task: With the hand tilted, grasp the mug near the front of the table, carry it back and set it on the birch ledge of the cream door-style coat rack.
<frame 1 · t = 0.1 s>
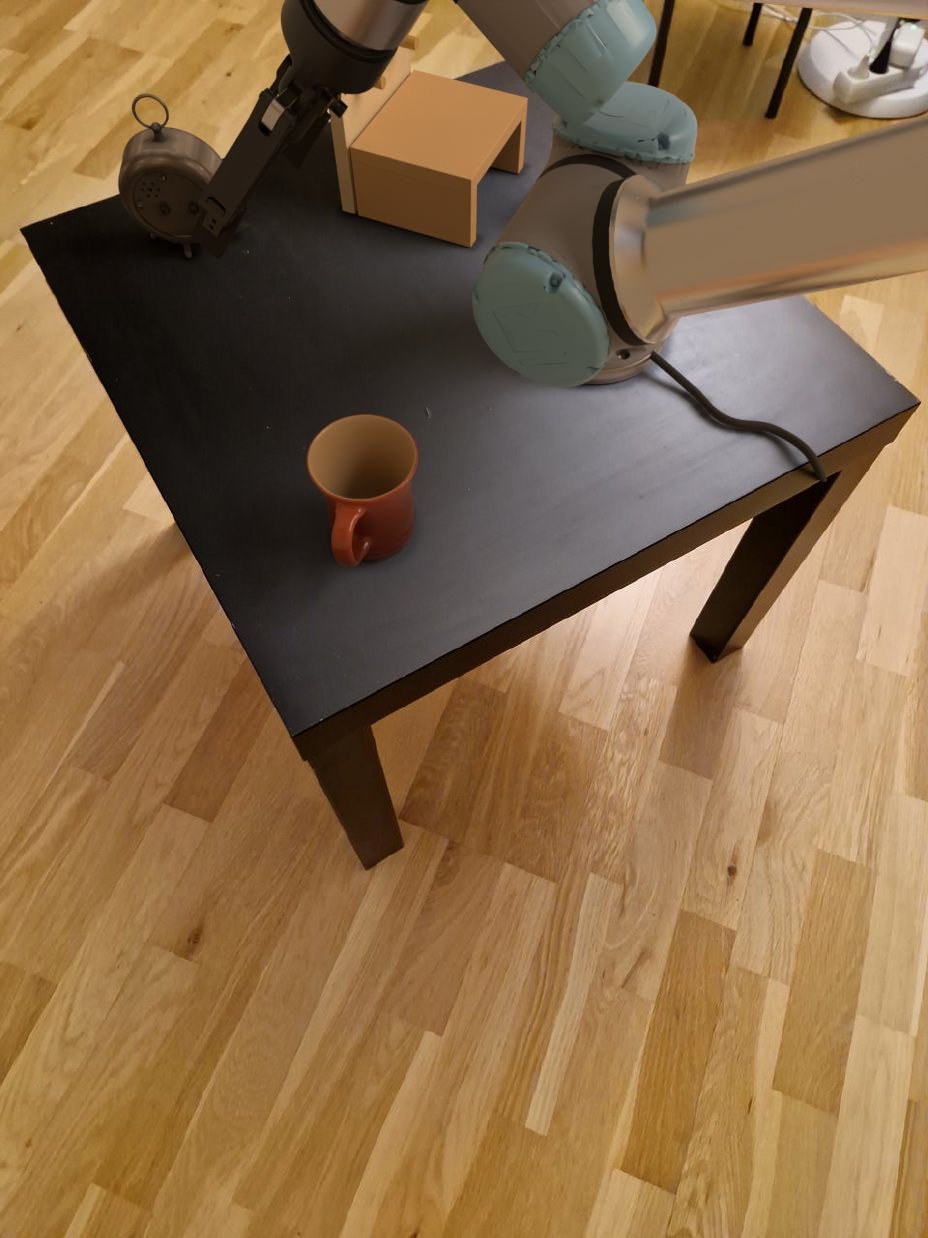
hand: (249, 199, 72), 15 cm above the table, tool tilted 35°, fingers open, 13 cm apart
mug: (370, 547, 73), on the table
alarm clock: (193, 246, 92), on the table
fossilized seashell: (586, 225, 94), on the table
door rack: (438, 189, 97), on the table
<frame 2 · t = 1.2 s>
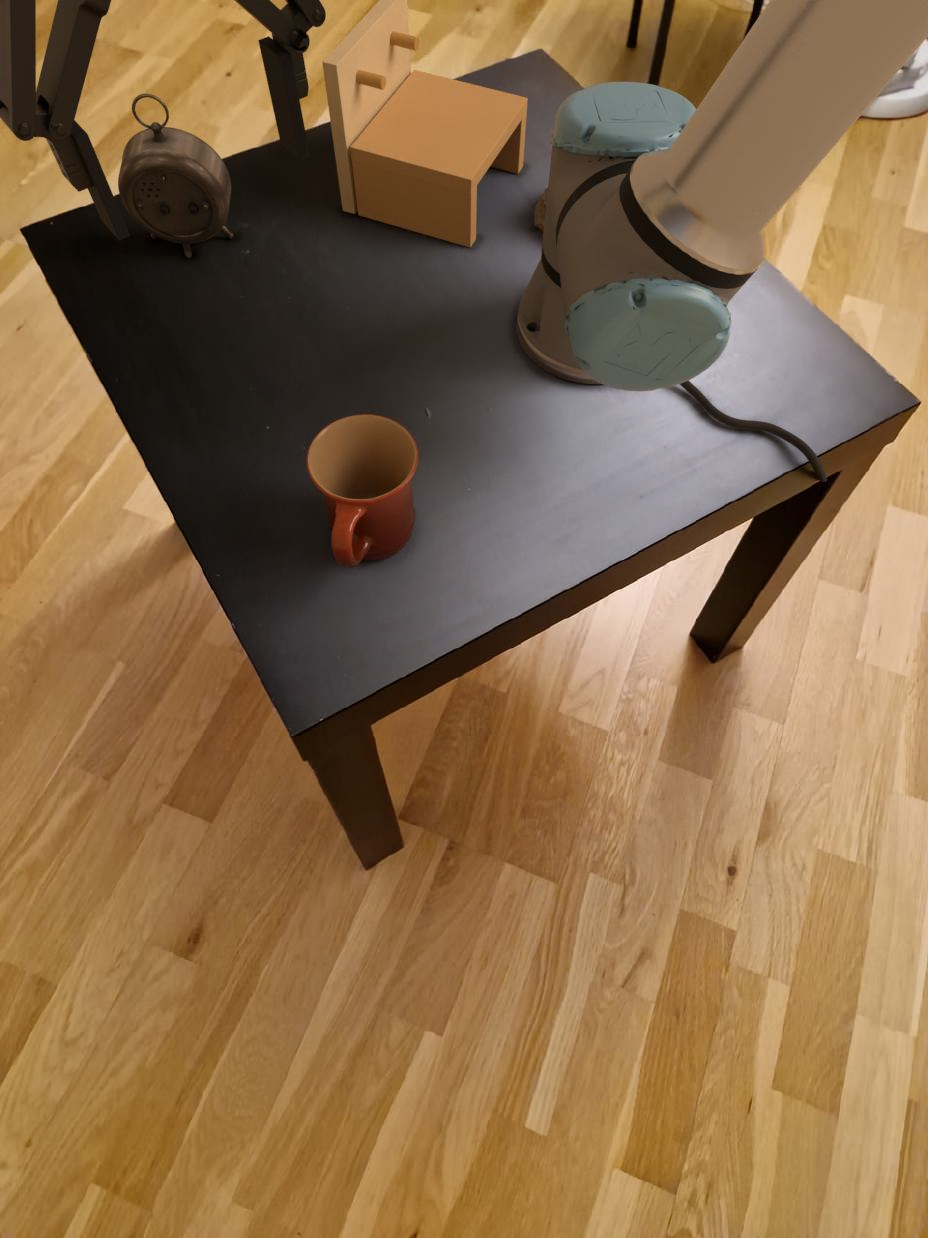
hand: (208, 187, 55), 26 cm above the table, tool pointing down, fingers open, 13 cm apart
nothing on the table moved.
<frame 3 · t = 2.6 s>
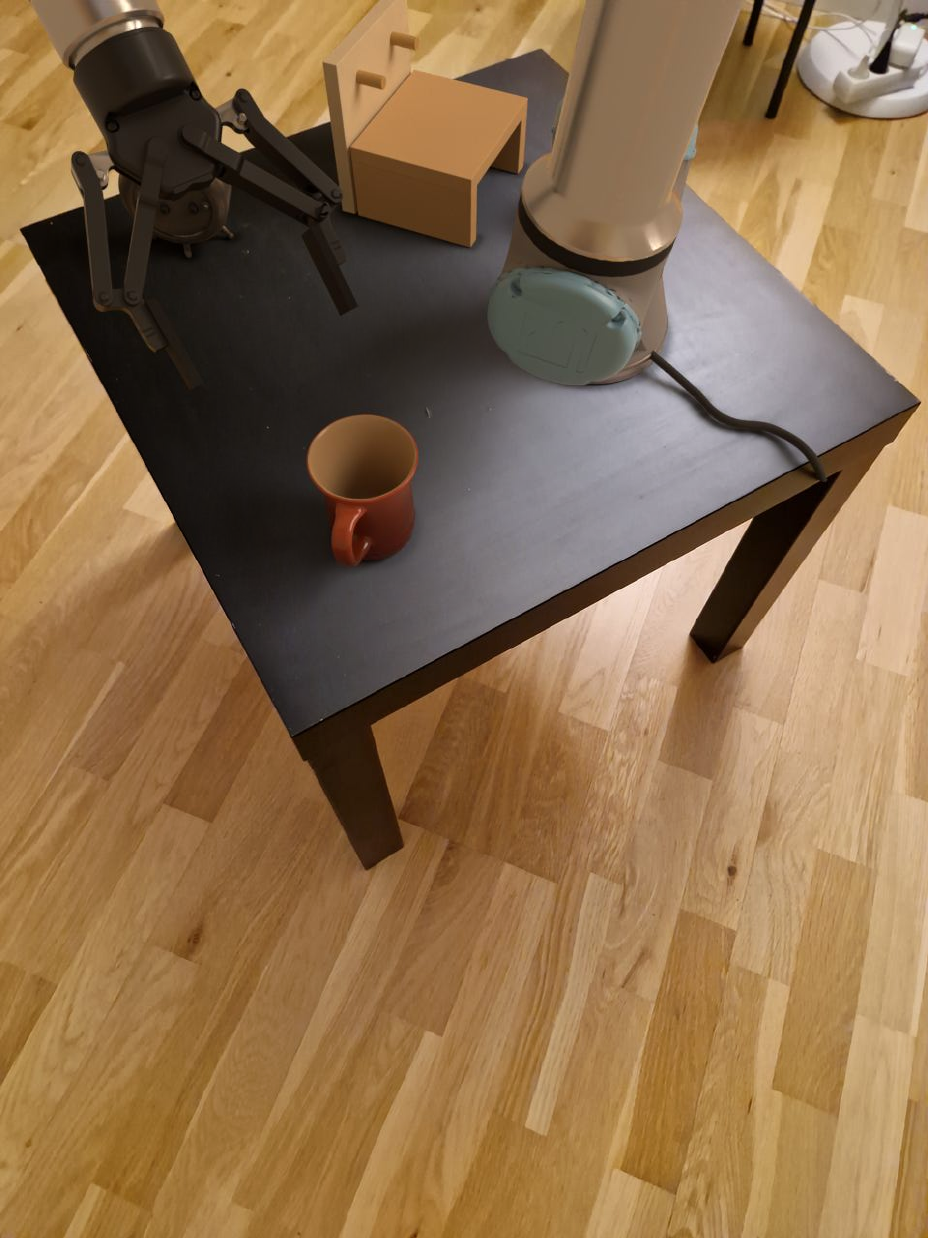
hand: (275, 348, 64), 15 cm above the table, tool tilted 45°, fingers open, 13 cm apart
nothing on the table moved.
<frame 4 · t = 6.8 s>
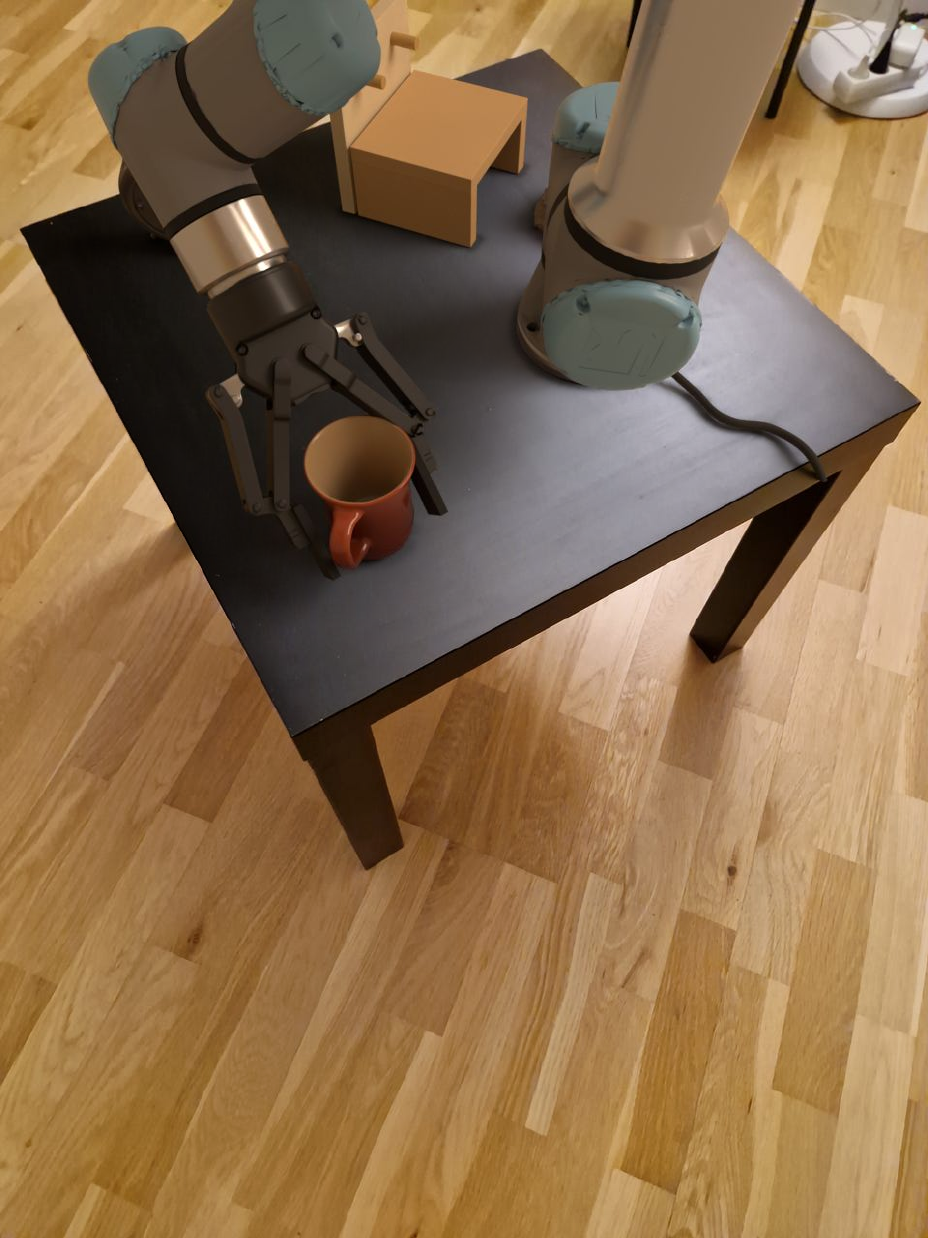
hand: (386, 544, 68), 4 cm above the table, tool tilted 45°, fingers closed on mug, 10 cm apart
mug: (369, 546, 73), on the table, touching gripper
everything else where it was.
when the fingers open (12 cm above the table, at t = 19.1 s): mug moves 1 cm, point 8 cm above the table.
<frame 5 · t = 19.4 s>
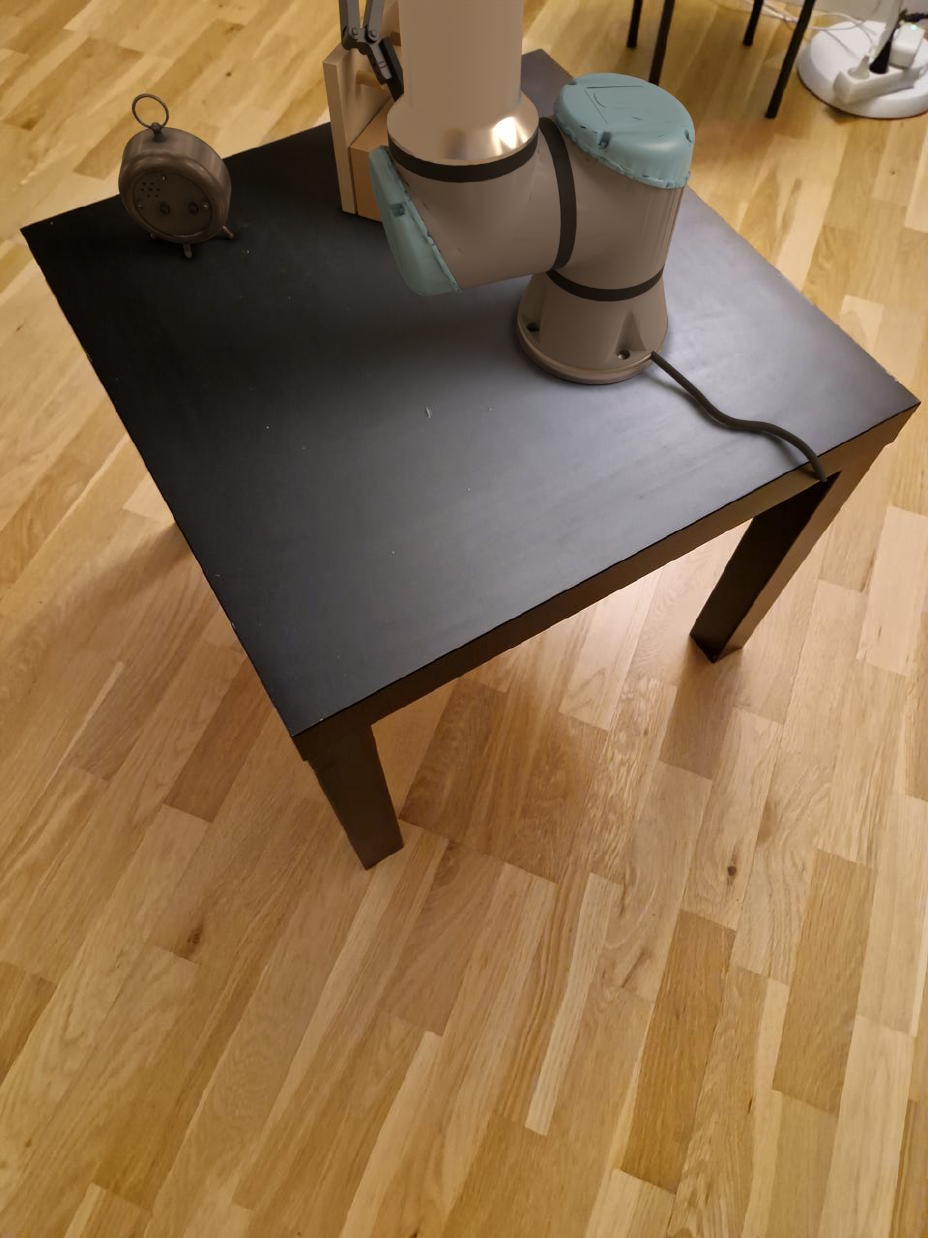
hand: (462, 92, 85), 12 cm above the table, tool tilted 45°, fingers open, 12 cm apart
mug: (456, 118, 90), point 8 cm above the table, touching gripper
everything else where it was.
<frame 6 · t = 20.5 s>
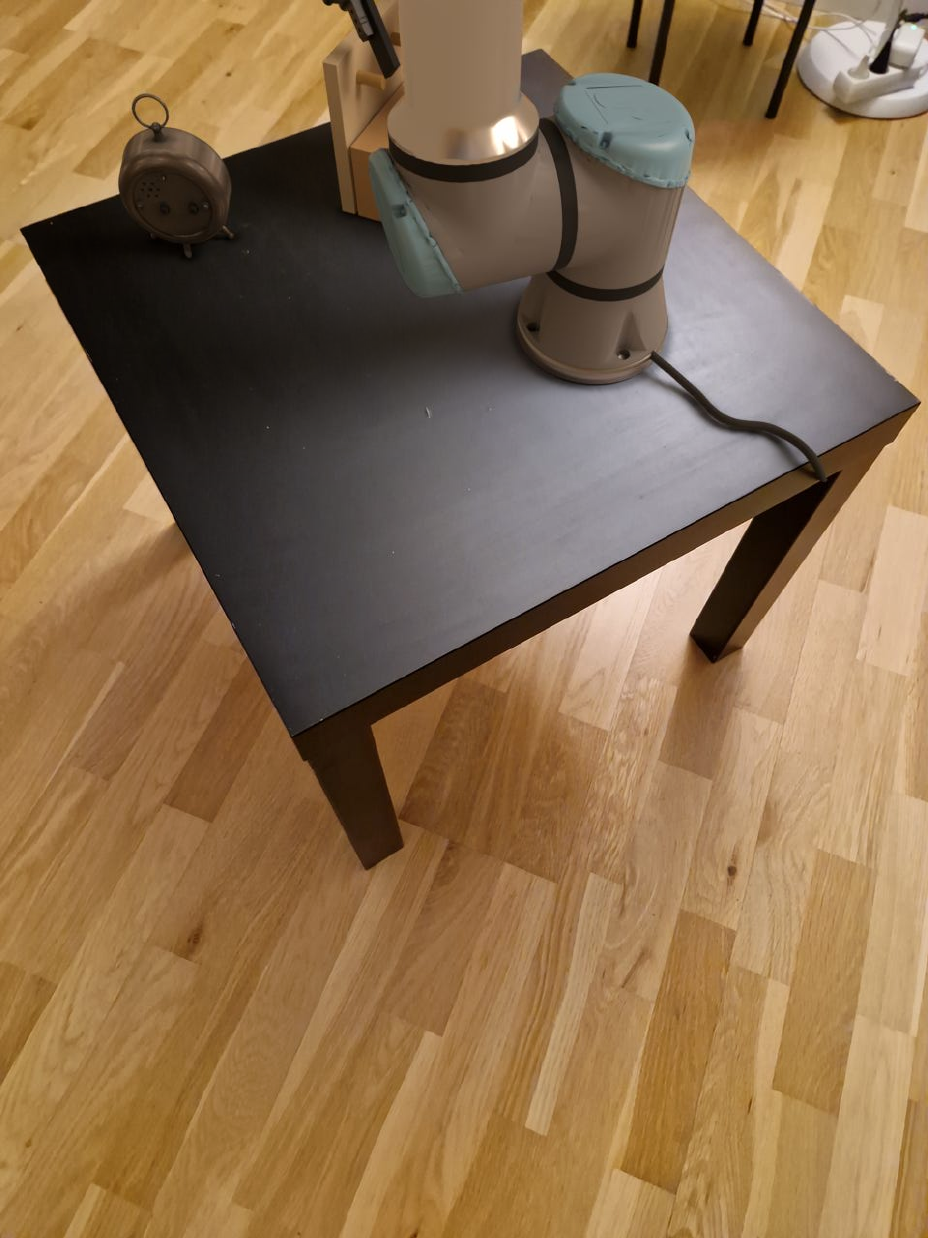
hand: (449, 50, 83), 16 cm above the table, tool tilted 45°, fingers open, 13 cm apart
mug: (465, 110, 90), point 8 cm above the table, touching door rack
everything else where it was.
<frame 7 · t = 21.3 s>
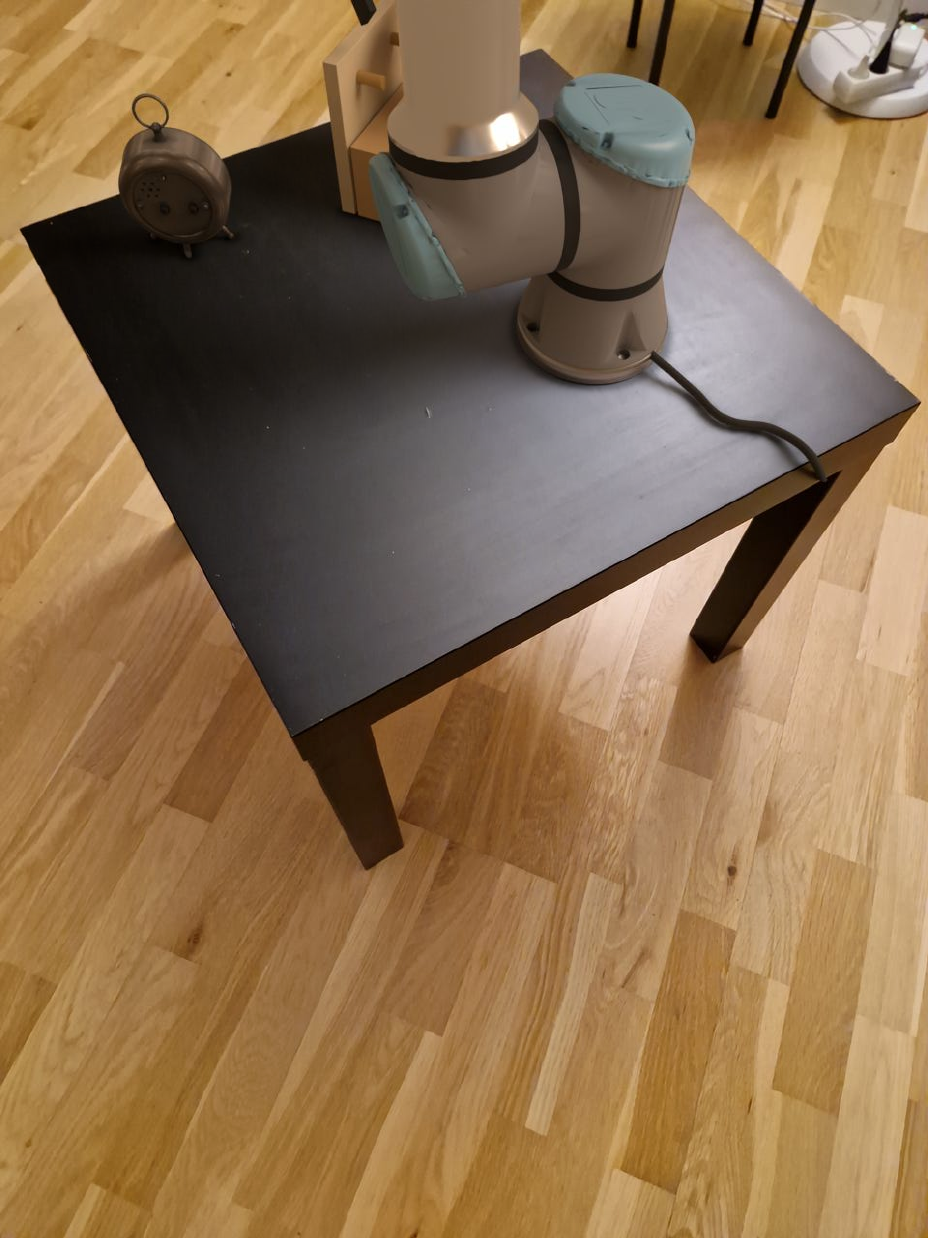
mug: (465, 109, 90), point 8 cm above the table, touching door rack, gripper
everything else where it was.
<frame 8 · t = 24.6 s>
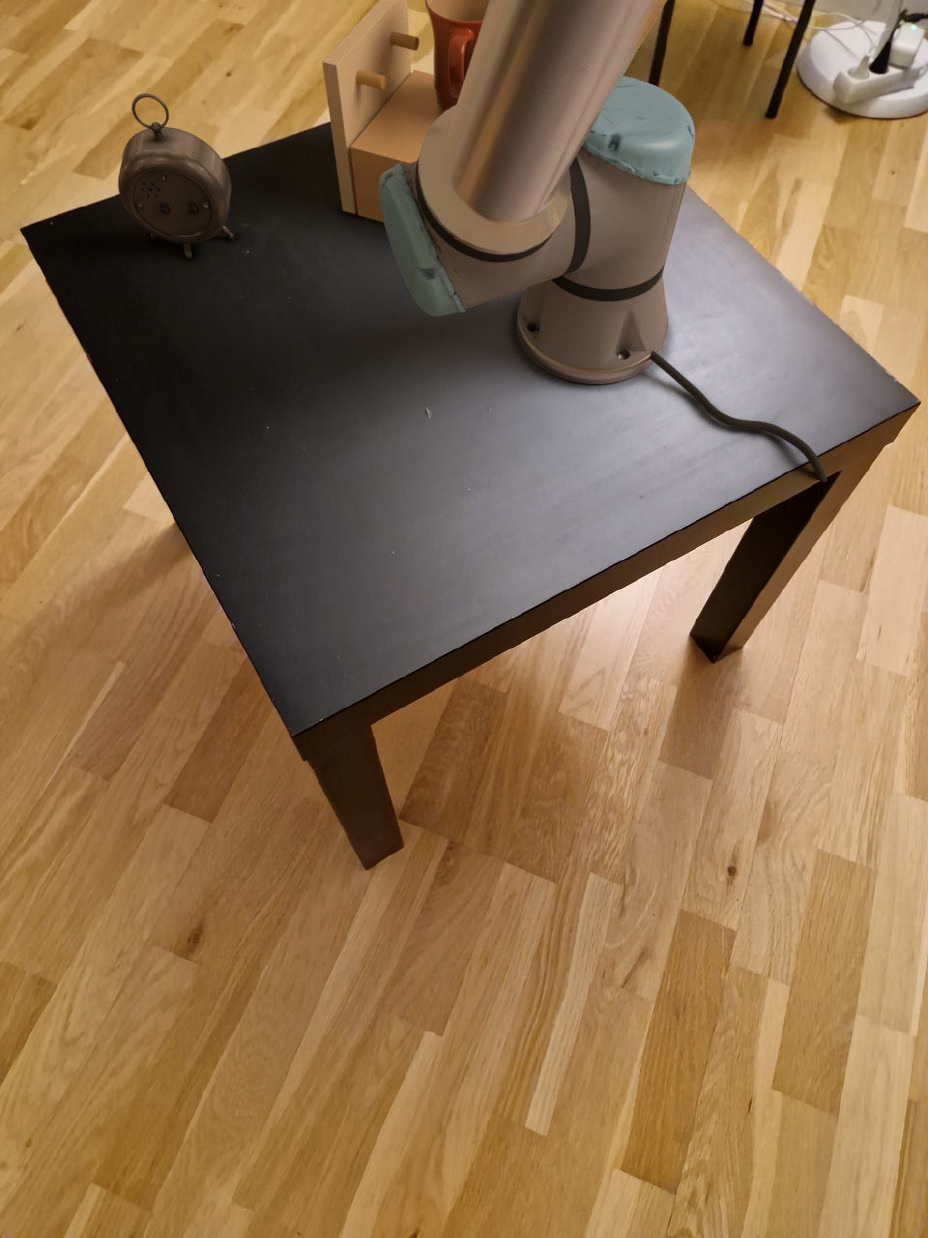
mug: (465, 114, 90), point 8 cm above the table, touching door rack
everything else where it was.
at the end: mug inside the target area on the door rack (3.1 cm from its centre), point 7.8 cm above the door rack's base; mug tilted 0°; the gripper is holding nothing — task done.
